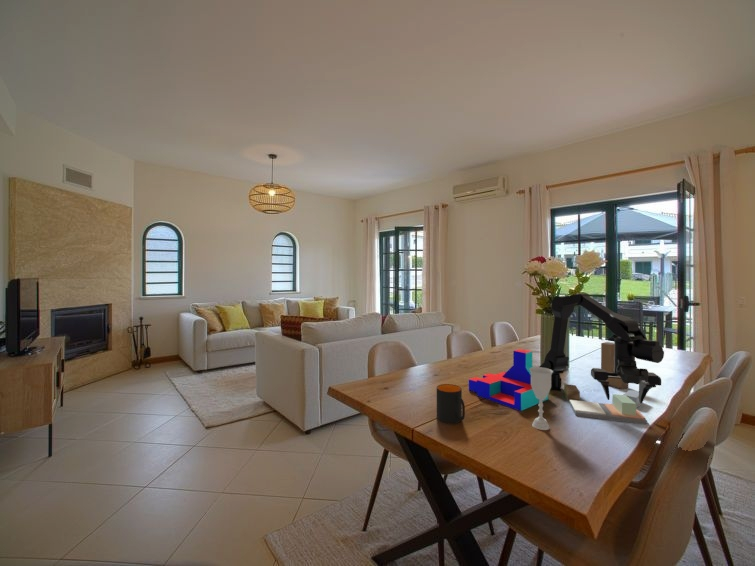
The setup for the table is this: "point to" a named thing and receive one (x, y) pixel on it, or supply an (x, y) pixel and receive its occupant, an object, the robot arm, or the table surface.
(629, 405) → the sage brick
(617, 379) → the wooden block
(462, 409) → the mug
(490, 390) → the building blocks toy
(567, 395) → the walnut brick
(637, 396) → the slate brick
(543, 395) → the chalice
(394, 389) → the table surface
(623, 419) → the tile board
